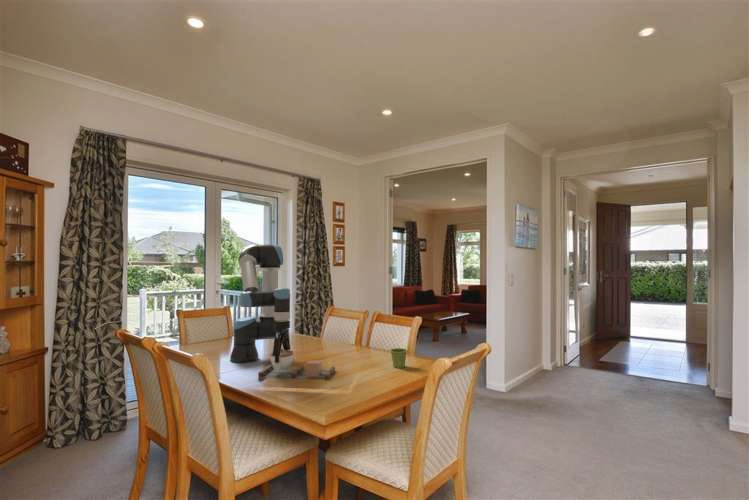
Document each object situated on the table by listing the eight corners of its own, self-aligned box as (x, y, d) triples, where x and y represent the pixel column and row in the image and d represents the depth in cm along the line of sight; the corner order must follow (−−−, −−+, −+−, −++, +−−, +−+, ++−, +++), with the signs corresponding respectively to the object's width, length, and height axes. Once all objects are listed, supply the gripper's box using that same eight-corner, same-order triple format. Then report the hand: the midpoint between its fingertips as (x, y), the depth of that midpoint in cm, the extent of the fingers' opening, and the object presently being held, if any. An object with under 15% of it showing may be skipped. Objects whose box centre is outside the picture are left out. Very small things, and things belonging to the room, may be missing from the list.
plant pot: (392, 369, 211) (392, 352, 211) (388, 364, 220) (388, 348, 220) (409, 368, 213) (409, 351, 213) (404, 364, 222) (404, 347, 222)
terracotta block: (309, 372, 199) (309, 360, 199) (321, 372, 199) (321, 360, 199) (305, 376, 193) (305, 363, 193) (318, 376, 193) (318, 363, 193)
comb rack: (270, 371, 206) (270, 364, 206) (334, 373, 202) (334, 366, 202) (258, 380, 191) (258, 372, 191) (327, 383, 187) (327, 375, 188)
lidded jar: (266, 370, 194) (266, 350, 194) (276, 365, 204) (276, 346, 204) (287, 372, 191) (287, 351, 192) (296, 366, 202) (296, 347, 202)
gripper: (282, 317, 210) (282, 360, 210) (265, 323, 187) (265, 372, 187) (296, 317, 209) (296, 360, 209) (281, 324, 186) (281, 373, 186)
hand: (281, 366), depth 198 cm, fingers closed on lidded jar, 11 cm apart
